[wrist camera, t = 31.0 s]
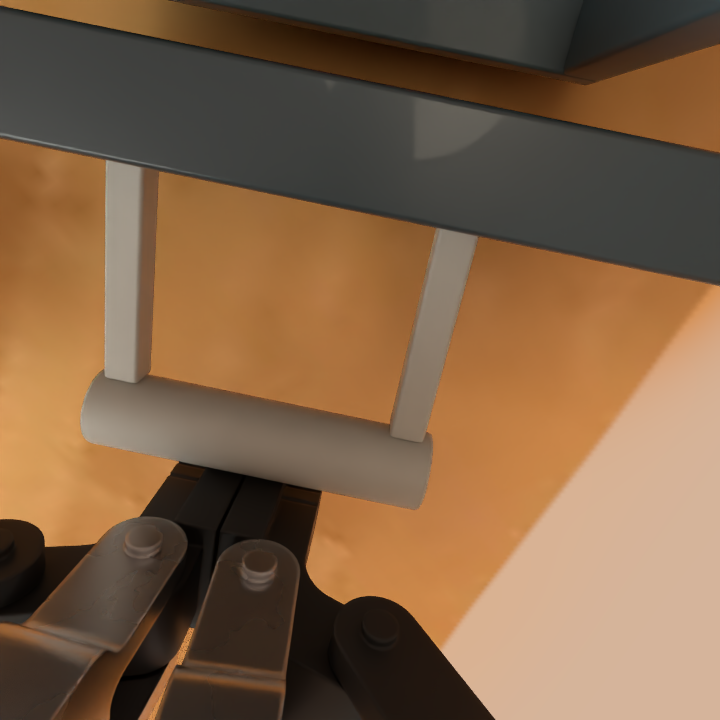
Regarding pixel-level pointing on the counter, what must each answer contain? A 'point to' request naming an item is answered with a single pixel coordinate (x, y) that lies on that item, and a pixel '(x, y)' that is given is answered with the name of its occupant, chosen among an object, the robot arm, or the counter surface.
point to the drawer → (357, 191)
